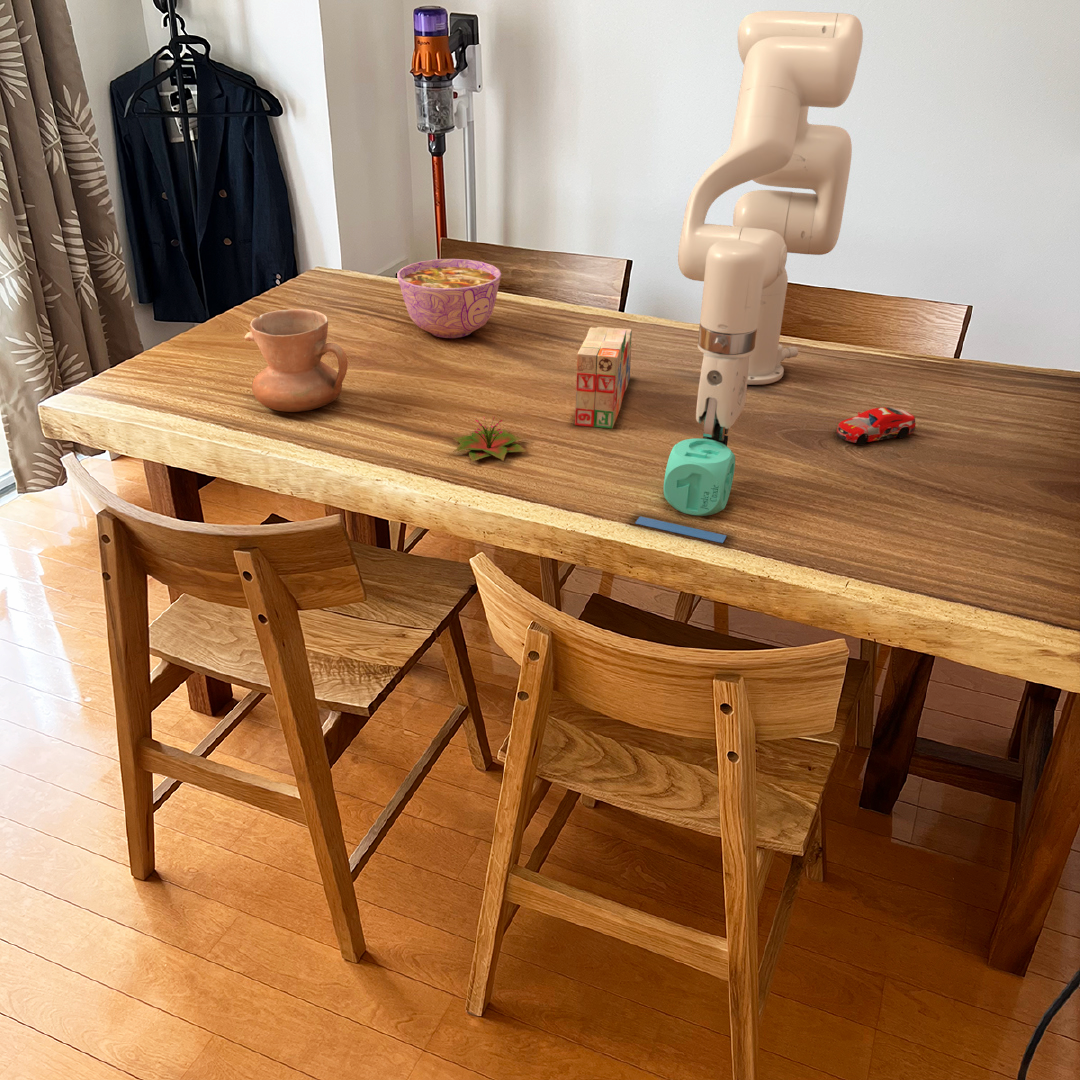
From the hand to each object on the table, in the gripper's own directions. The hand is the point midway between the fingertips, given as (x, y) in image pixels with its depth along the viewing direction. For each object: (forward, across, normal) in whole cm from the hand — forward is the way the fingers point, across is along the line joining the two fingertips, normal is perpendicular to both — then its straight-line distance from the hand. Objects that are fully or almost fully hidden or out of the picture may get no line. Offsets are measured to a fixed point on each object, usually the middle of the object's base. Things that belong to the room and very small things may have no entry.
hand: (712, 461), depth 140 cm
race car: (+4, +26, -20) cm, 33 cm away
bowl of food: (+4, +40, +64) cm, 75 cm away
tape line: (+3, -15, 0) cm, 15 cm away
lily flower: (+4, -4, +34) cm, 34 cm away
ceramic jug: (+4, -2, +69) cm, 70 cm away
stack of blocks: (+4, +20, +24) cm, 32 cm away
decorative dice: (+4, -7, 0) cm, 8 cm away
